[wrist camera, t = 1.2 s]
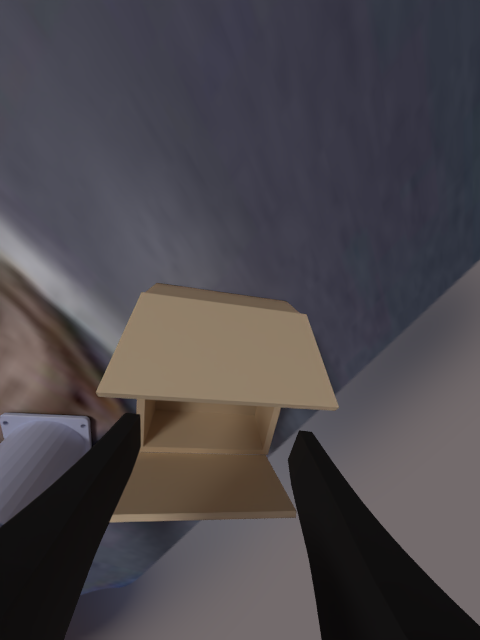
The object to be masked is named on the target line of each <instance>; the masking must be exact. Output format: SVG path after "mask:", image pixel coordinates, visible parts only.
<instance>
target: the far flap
mask: <svg viewBox="0 0 480 640" xmlns="http://www.w3.org/2000/svg"><path fill="white" fill-rule="evenodd" d="M258 518H259V519H260V518H296V510H295V508H294V506H293V504H292V502H291V501H290V499H289V497H288V495H287V493H286V491H285V490H284V488H283V486H282V484H281V482H280V480H279V479H278V477H277V475H276V473H275V471H274V470H273V468H272V466H271V464H270V462H269V461H268V459H267V457H266V455H236V454H191V453H147V452H139V454H138V457H137V459H136V462H135V465H134V468H133V471H132V473H131V476H130V478H129V480H128V482H127V485H126V487H125V489H124V491H123V493H122V496H121V498H120V500H119V502H118V504H117V507H116V509H115V511H114V513H113V515H112V518H111V520H110V522H143V521H182V520H221V519H258Z"/></svg>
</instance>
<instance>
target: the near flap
mask: <svg viewBox="0 0 480 640" xmlns="http://www.w3.org/2000/svg"><path fill="white" fill-rule="evenodd" d="M96 393H97V395H98V397H115V398H131V399H148V400H165V401H181V402H198V403H215V404H232V405H248V406H265V407H282V408H299V409H315V410H332V411H335V410H336V409H338V408H339V406H338V403H337V401H336V398H335V395H334V392H333V389H332V386H331V384H330V381H329V378H328V375H327V372H326V369H325V366H324V364H323V361H322V358H321V355H320V352H319V349H318V346H317V344H316V341H315V338H314V335H313V332H312V329H311V326H310V324H309V321H308V318H307V315H306V314H300V313H292V312H285V311H277V310H270V309H263V308H255V307H248V306H240V305H233V304H225V303H218V302H210V301H203V300H196V299H188V298H181V297H173V296H166V295H158V294H151V293H143V292H142V293H141V295H140V297H139V299H138V301H137V304H136V306H135V308H134V310H133V312H132V315H131V317H130V319H129V321H128V323H127V325H126V328H125V330H124V332H123V334H122V336H121V339H120V341H119V343H118V345H117V347H116V350H115V352H114V354H113V356H112V358H111V360H110V363H109V365H108V367H107V369H106V371H105V374H104V376H103V378H102V380H101V382H100V385H99V387H98V389H97V391H96Z"/></svg>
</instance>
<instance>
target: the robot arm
mask: <svg viewBox="0 0 480 640" xmlns="http://www.w3.org/2000/svg"><path fill="white" fill-rule="evenodd" d="M0 423H1V428H2V432H3V436H4V441H3V442H2V443H1V444H0V640H64V638H65V635H66V632H67V629H68V627H69V624H70V621H71V618H72V616H73V613H74V610H75V607H76V605H77V602H78V599H79V596H80V594H81V591H82V588H83V586H84V583H85V580H86V578H87V575H88V572H89V570H90V567H91V564H92V562H93V559H94V556H95V554H96V551H97V549H98V547H99V544H100V542H101V540H102V537H103V535H104V533H105V531H106V529H107V526H108V524H109V522H110V520H111V518H112V515H113V513H114V511H115V509H116V507H117V504H118V502H119V500H120V498H121V496H122V493H123V491H124V489H125V487H126V485H127V482H128V480H129V478H130V476H131V473H132V471H133V468H134V465H135V462H136V459H137V457H138V454H139V451H140V448H141V420H140V414H132V413H125V414H124V415H123V416H122V417H121V418H120V419H119V420H118V421H117V422H116V423H115V424H114V425H113V426H112V427H111V429H110V430H109V431H108V432H107V433H106V434H105V435H104V436H103V437H102V438H101V439H100V440H99V441H98V442H97V443H96V444H95V445H94V446H93V447H92V443H91V428H90V419H89V418H88V417H86V416H70V415H48V414H27V413H3V414H2V415H1V416H0ZM83 424H84V425H83ZM288 463H289V472H290V479H291V486H292V490H293V494H294V499H295V503H296V507H297V511H298V515H299V520H300V524H301V528H302V532H303V536H304V540H305V545H306V548H307V553H308V558H309V563H310V568H311V574H312V580H313V586H314V592H315V598H316V605H317V612H318V618H319V625H320V631H321V638H322V640H480V626H479V625H478V624H477V623H476V622H475V621H474V620H473V619H472V618H471V617H470V616H469V615H468V614H467V613H465V612H464V611H463V610H462V609H461V608H460V607H459V606H458V605H457V604H456V603H455V602H454V601H453V600H452V599H451V598H450V597H449V596H448V595H447V594H446V593H445V592H444V591H443V590H442V589H441V588H440V587H439V586H438V585H437V584H436V583H435V582H434V581H433V580H432V579H431V578H430V577H429V576H428V575H427V574H426V573H425V572H424V571H423V570H422V569H421V568H420V567H419V566H418V565H417V563H416V562H414V560H413V559H412V558H411V557H410V556H409V555H408V554H407V553H406V552H405V551H404V550H403V549H402V548H401V546H400V545H399V544H398V543H397V542H396V541H395V540H394V539H393V538H392V536H391V535H390V534H389V533H388V532H387V531H386V529H385V528H384V527H383V526H382V525H381V524H380V523H379V521H378V520H377V519H376V518H375V517H374V515H373V514H372V513H371V512H370V511H369V509H368V508H367V507H366V506H365V504H364V503H363V502H362V501H361V499H360V498H359V497H358V496H357V494H356V493H355V492H354V490H353V489H352V488H351V486H350V485H349V484H348V482H347V481H346V480H345V478H344V477H343V476H342V474H341V473H340V471H339V470H338V469H337V467H336V466H335V464H334V463H333V462H332V460H331V459H330V457H329V456H328V455H327V453H326V452H325V450H324V449H323V447H322V446H321V444H320V443H319V442H318V440H317V439H316V437H315V436H314V434H313V433H312V432H308V431H299V432H298V435H297V437H296V440H295V443H294V445H293V448H292V450H291V453H290V456H289V458H288Z"/></svg>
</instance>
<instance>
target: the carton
mask: <svg viewBox="0 0 480 640" xmlns="http://www.w3.org/2000/svg"><path fill="white" fill-rule="evenodd" d="M145 293H151V294H158V295H166V296H173V297H181V298H188V299H196V300H203V301H210V302H218V303H225V304H233V305H240V306H248V307H255V308H263V309H270V310H277V311H285V312H292V313H299V312H298V311H297V310H296V309H294V308H293V307H292V306H291V305H290V304H289V303H288V302H286V301H281V300H274V299H267V298H260V297H253V296H246V295H239V294H232V293H225V292H217V291H210V290H203V289H196V288H189V287H182V286H175V285H168V284H161V283H156V284H155V285H154V286H152V287H151V288H150V289H149V290H147V291H146V292H145ZM280 409H281V407H265V406H248V405H232V404H215V403H198V402H181V401H165V400H148V399H137V414H140V420H141V448H140V451H139V452H173V453H216V454H260V455H268V451H269V448H270V444H271V441H272V437H273V434H274V430H275V427H276V423H277V420H278V416H279V413H280Z"/></svg>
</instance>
